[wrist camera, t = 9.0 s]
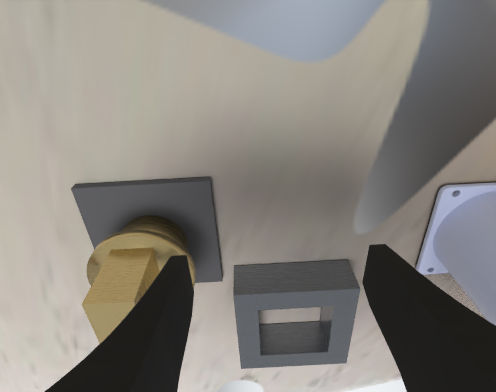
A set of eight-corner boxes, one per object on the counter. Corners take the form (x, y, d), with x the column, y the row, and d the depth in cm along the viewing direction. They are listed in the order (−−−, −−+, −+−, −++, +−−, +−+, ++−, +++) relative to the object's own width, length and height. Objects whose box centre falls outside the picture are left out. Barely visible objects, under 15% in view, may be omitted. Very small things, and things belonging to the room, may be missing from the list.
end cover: (193, 201, 21) (173, 287, 15) (205, 273, 25) (193, 369, 18) (95, 207, 21) (32, 295, 15) (120, 278, 25) (78, 375, 18)
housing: (347, 259, 25) (360, 288, 22) (337, 332, 30) (346, 363, 27) (234, 265, 25) (233, 295, 22) (241, 337, 30) (241, 368, 27)
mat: (210, 176, 21) (209, 181, 20) (222, 275, 26) (222, 281, 25) (75, 184, 21) (71, 188, 21) (111, 281, 26) (109, 287, 25)
